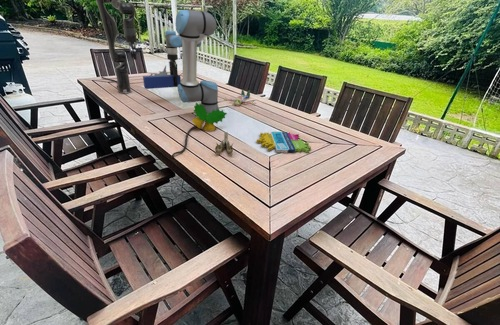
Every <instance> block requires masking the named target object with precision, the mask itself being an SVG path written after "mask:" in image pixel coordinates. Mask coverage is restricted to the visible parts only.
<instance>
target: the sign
mask: <svg viewBox="0 0 500 325" xmlns="http://www.w3.org/2000/svg"><path fill="white" fill-rule="evenodd" d="M299 136H300V135H299V134H298V133H296V134H294V133H291V132H287V131H270V132H264V133H263V132H260V133H259V139H258V138H257V139H256V143H257V144H261V148H263V147H264V148H265V149H267V151H268V152H271V151H272V150H273V149H275V152H276V153H283V154H285V153H287V154H288V153H290V154H293V153H296V152H298V153H301V152H305V153H310V151H311V150H312V149H311V148H312V146H309V142H304V141H303V139H302V138H299Z"/></svg>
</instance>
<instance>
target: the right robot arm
mask: <svg viewBox="0 0 500 325" xmlns="http://www.w3.org/2000/svg"><path fill="white" fill-rule="evenodd" d="M174 24H175V30H165V32H164V36H165V45H166V48H165V50H166V57H167V60H168V65H169V66H168V67H169V72H170V73H169V75H173V76H174V77H173V80H174V87H173V88H177V93H178V97H179V99H180V101H181V102H182V103H196V102H197V103H198V102H200V104H201V106H204V109H206V112H208V113H211V112H212V110H214V111H216V110H217V109H219V111H221V110H220V108H219V102H218V99H219V98H218V97H219V88H218V84H217V83H216V82H215V81H211V80H205V79H204V80H200V82H199V81H198V80H197V70H198V68H197V67H198V64H197V63H198V62H197V60H198V59H197V58H198V56H197V55H198V48H200V47H201V46H202V41H203V40H205V39H206V38H207V37H210V36H212V35H213V34H214V33H215V32H216V30H217V21H216V18H215V17H214V16H213V15H212V14H211V13H209V12H208V11H204V10H200V11H199V10H192V9H180V10H178V11H177V13H176V17H175V23H174ZM178 48H181V58H182V60H181V61H182V64H181V65H182V79H181V81H180V84H179V85H178V84H177V78H178V75H179V74H178V63H177V61H178V59H179V57H178ZM177 86H178V87H177ZM208 113H207V115H208ZM196 127H197V126H196V125H195V124H194V126H192V127H191V128H190V129H189V130H188V131H186V132H187V133H186V135H185V140H184V145H183V149H182V150H178V151H175V152H174V153H172V154H171V155H170V159H173V158H174V156H175V155H177V154H182V153H183V152H185V150H186V149H187V145H188V136H189V134H190V132H191V131H192V130H193V129H195V128H196Z"/></svg>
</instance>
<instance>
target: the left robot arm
mask: <svg viewBox="0 0 500 325" xmlns="http://www.w3.org/2000/svg"><path fill="white" fill-rule="evenodd" d="M95 2H96V5H97V8H98V11H99V14H100V18H101V22H102V27H103V30H104V33H105V38H106V40H107V45H108V51H109V56H110V59H111V61H112V63H114V64H119V65H118V66H116V67H115V68H114V70H115V76H116V80H114V79H112V78H108V77H104V76H101V78H102V79H105V80H108V81H112V82H114V83H116V84H117V85H116V87H117V88H118V93H119V94H130V93H132V90H131V83H130V82H131V81H130V76H129V71H128V70H129V69H128V68H129V67H128V60H127V58H128V57H127V53H126V51H125V50H122V49H120V50H119V49H118V50H117V49H116V48H115V43H116V39H117V37H118V34H119V30H118V26H117V23H116V20H115V19H114V18H113V17H112V15H111V14H110V13H109V12H108V10H107V8H106V6H105V4H111V6H112V7H113V8H115V9H116V10H118V12H119V13H120V14H121V15H128V16H127V17H126V18H123V19H122V22H123V23H122V24H123V28H124V29H123V30H124V37H125V42H126V43H128V49H129V52H130V57H131V58H132V59H133V60H137V47H136V44H135V43H137V42H138V40H137V30H136V27H135V16H136V8H135V5H134V4H133V3H131V2H125V1H124V0H95Z"/></svg>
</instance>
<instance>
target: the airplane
mask: <svg viewBox="0 0 500 325" xmlns="http://www.w3.org/2000/svg"><path fill="white" fill-rule="evenodd" d="M146 74H149V76H157V75H168V74H170V71H169V72H168V71H167V65H165V66H164V68H163V70H162V71H161V70H159V71H158V73H157V72H156V73H155V72H146Z"/></svg>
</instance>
